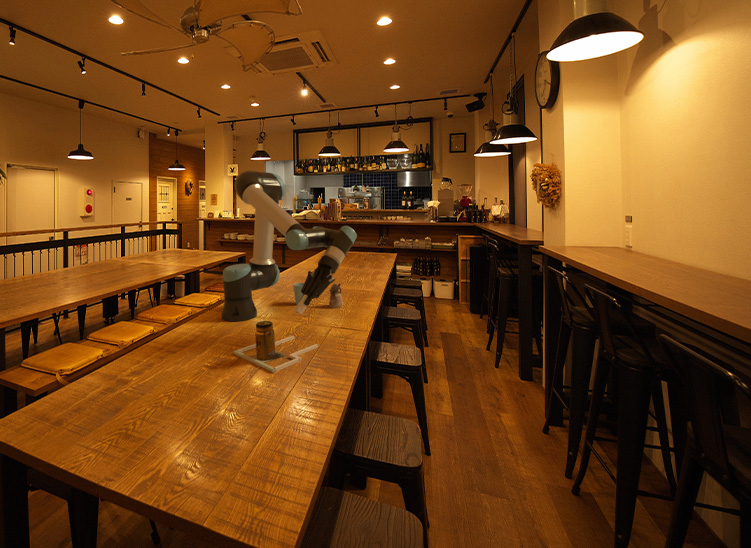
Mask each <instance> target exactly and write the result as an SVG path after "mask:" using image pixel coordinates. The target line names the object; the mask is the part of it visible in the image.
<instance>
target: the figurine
mask: <svg viewBox="0 0 751 548" xmlns="http://www.w3.org/2000/svg"><path fill="white" fill-rule="evenodd" d="M341 285H342V284H341V283H340V282H339V283H338V284H337V283H335V282H334V283H333V284H332V285H331V286H330V289H329V294H330V297H329V302H328V308H330V307H331V308H330V309H340V307H341V308H342V306H343V305H344V300H343V297H342V288H341ZM339 290H340V291H339Z"/></svg>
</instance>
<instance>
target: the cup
mask: <svg viewBox="0 0 751 548" xmlns="http://www.w3.org/2000/svg"><path fill="white" fill-rule="evenodd" d="M304 283H305V282H295V283H293V286H292V288H293V292H294V294H293V295H294V300H295V305H296V306H297V305H298V303H299V301H300V299H301V298H302V296H303V293H302V292H301V290H302V287H303V285H304Z"/></svg>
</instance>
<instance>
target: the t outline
mask: <svg viewBox="0 0 751 548" xmlns="http://www.w3.org/2000/svg"><path fill="white" fill-rule="evenodd" d="M292 340H295V336H294V335H291V336H288V337H285V338H283V339H282V338H281V339H280V340H275V347H276V346H278V345H281V343H282V344H283V343H287V342H290V341H292ZM318 347H319V344H317V343H315V344H313V345H310V346H307V347H305V348H303V349H300V350H297V351H295V352H293V353H290V354H289V359H291V360H288V361H286V362H284V363H282V364H278V365H277V366H275V367H274V366H271V365H269V364H267V363H266V362H264V363H263V362H261V361H259V360H257V359H255V358H253V357H252V356H250V355H248V354H245V353H244V352H246V351H250V350H252V349H256V343H254V344H251V345H248V346H245V347H241V348H238V349H237V350H234V351H233V354H234V355H236V356H238V357H240V358H242V359H244V360H245V361H248V362H250V363H253V364H254V365H256V366H258V367H261V368H263V369H264V370H266V371H268V372H271V373H274V374H275V373H277V372H279V371H281V370H282V369H286V368H287V367H290V366H292V365H294V364H296V363H297V364H298V363H300V362H302V357H301V356H300V355H303V354H306V353H307V352H311V351H312V350H315V349H318Z"/></svg>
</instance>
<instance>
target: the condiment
mask: <svg viewBox="0 0 751 548" xmlns="http://www.w3.org/2000/svg"><path fill="white" fill-rule="evenodd" d="M273 324H274V323H273V321H271V320H263V321H258V322H256V324H255V327H256V328H255V332H254V333H255V334H254V335H255V344H256V348H255V352H256V355H253V356H251V357H252V358H254V359H257V360H259V361H261V362H263V363H268V362H271V361H273V360H275V359H278V358H281V357H283V356H286V354H285V353H281V352H280V351H278V350H276V346H275V342H276V340H275V337H276V336H275V330H274V326H273Z"/></svg>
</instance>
